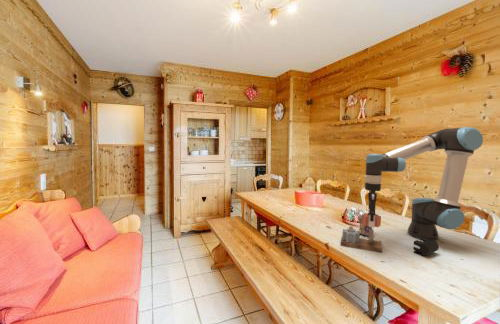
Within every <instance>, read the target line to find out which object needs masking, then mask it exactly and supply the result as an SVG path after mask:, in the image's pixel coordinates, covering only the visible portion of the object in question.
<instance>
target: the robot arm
mask: <svg viewBox="0 0 500 324" xmlns="http://www.w3.org/2000/svg"><path fill="white" fill-rule="evenodd" d="M483 143H484V137H483V134H482V133H481V131H480V130H479V129H477V128H476V127H470V126H469V127H467V126H466V127H465V126H464V127H463V126H462V127H454V128H444V129H440V130H438V131H434V132H432V133H429V134H426V135H423V136H422V138H421V139H419V140H416V141H413V142H411V143H408V144H406V145H404V146H401V147H398V148H395V149H393V150H390V151H388V152H385V153H368V154H366V158H365V175H364V176H363V177H364V179H365V180H364V181H365V182H364V189H365V191H368V194H367V197H368V207H367V208H368V211H367V213H368V215H369V227H372V228H375V227H374V226H375V214H376V202H377V196H378V194H377V192H380V191H381V190H382V184H381V183H382V176H383V175H382V173H383V172H386V173H387V172H388V173H391V172H392V173H394V172H395V173H398V172H399V173H400V172H403V171H405V169H406V168H407V167H406V165H407V162H406V160H408V159H410V158H412V157H416V156H418V155H420V154H421V155H422V154H423V153H427V152H434V151H436V150H437V151H438V150H444V152H445V154H446V159H445V163H444V167H443V171H442V177H441V179H440V180H441V182H440V184H439V189H438V194H437V197H435V198H431V197H415V198H412V204H411V222H410V223H409V226H408V228H407V235H409V236H410V237H413V238H416V239H417V240H420V239H421V238H424V239H428V240H431V239H433V240H435V241H437V240H439V232H438V229H437V226H438V227H440V228H443V229H447V230H456V229H457V228H459V227H461V226H462V224H463V223H464V222H465V218H466V217H465V214H464V212H463V211H462V210H461V207H462V205H461V204H460V203H459V199H460V195H461V191H462V186H463V183H464V182H463V181H464V178H465V173H466V169H467V165H468V161H469V157H471V156H473V155H474V152H475V151H476V150H478V149H480V148H481V147H482V145H483Z"/></svg>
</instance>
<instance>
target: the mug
mask: <svg viewBox="0 0 500 324" xmlns="http://www.w3.org/2000/svg"><path fill="white" fill-rule="evenodd" d="M357 221H358V223H359V229H358V231H359V232H360V235H361V236H365V237H369V229H373V227H369V226H365V225H364V224H362V214H359V215H358V216H357Z"/></svg>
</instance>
